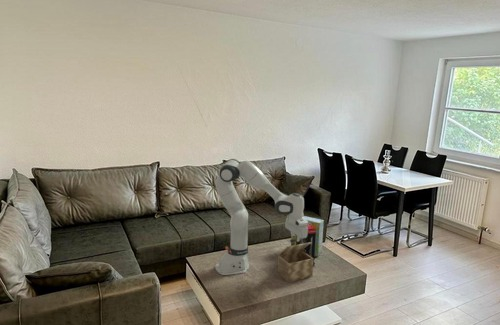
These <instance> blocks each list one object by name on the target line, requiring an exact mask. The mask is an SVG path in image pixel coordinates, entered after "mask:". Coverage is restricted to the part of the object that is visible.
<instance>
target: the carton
mask: <svg viewBox="0 0 500 325" xmlns="http://www.w3.org/2000/svg"><path fill="white" fill-rule="evenodd" d="M277 258H278V259H277V273H278V274H279V275H280V276H281V277H282V278H284V280H285V281H286V282H288V283H290V282H295V281H299V280H302V279H306V278H310V277H313V273H314V266H313V261H314V262H315V258H314V259H313V258H312V257H311V256H309V255H308V254H306V253H305V252H304V251H302V250H301V251H295V252H291V253H286V254H281V255H277Z"/></svg>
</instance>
